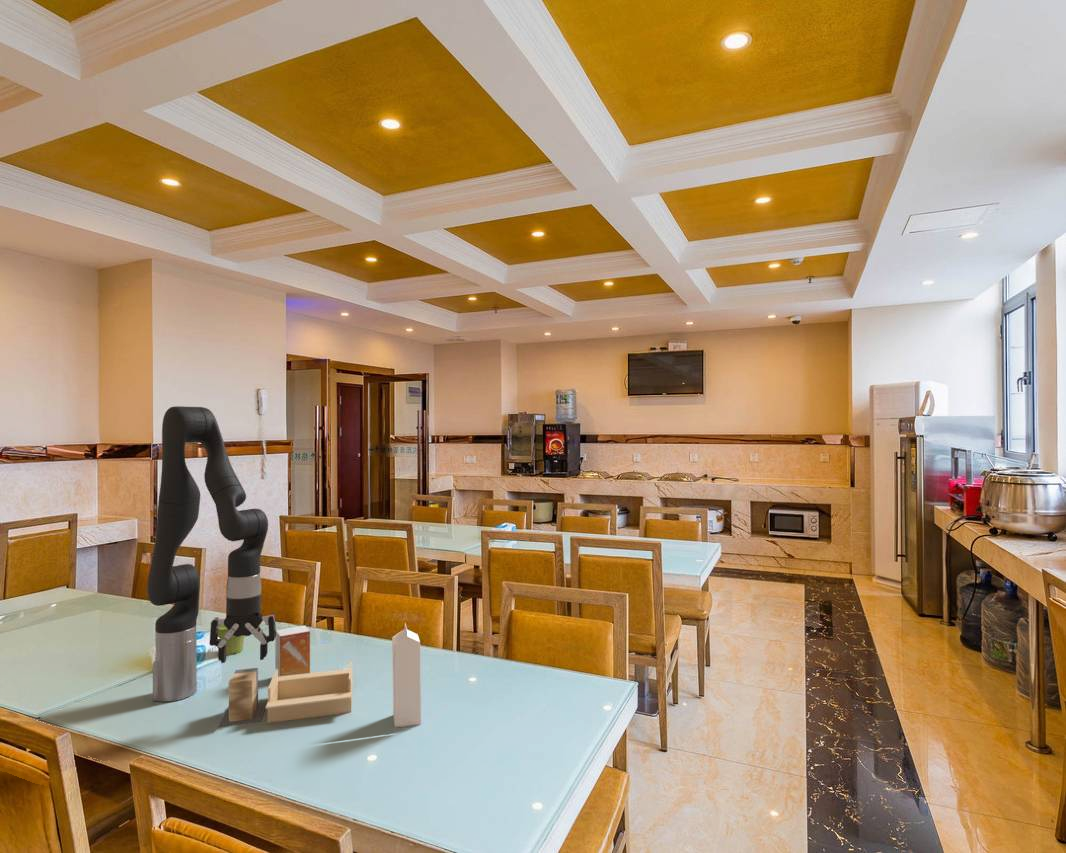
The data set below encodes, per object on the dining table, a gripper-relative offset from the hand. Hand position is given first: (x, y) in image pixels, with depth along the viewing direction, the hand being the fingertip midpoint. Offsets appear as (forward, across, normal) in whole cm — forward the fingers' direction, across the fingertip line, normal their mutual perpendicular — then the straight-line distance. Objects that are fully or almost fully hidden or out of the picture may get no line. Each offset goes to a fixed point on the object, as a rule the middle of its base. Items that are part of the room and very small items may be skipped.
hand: (243, 660), depth 145 cm
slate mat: (+13, 0, 0) cm, 13 cm away
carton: (+13, +16, 0) cm, 20 cm away
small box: (+14, +9, +20) cm, 26 cm away
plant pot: (+14, -12, +48) cm, 51 cm away
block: (+12, 0, 0) cm, 12 cm away
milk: (+12, +38, -14) cm, 42 cm away
